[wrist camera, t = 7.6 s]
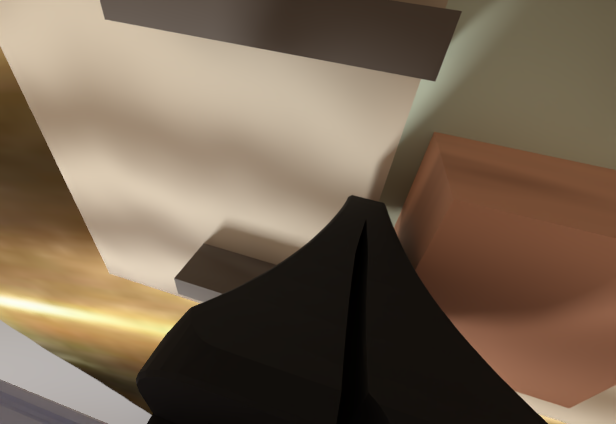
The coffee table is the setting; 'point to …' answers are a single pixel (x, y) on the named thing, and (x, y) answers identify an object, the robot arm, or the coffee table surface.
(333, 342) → the robot arm
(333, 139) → the deck
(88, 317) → the coffee table surface
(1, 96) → the coffee table surface
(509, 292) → the block
